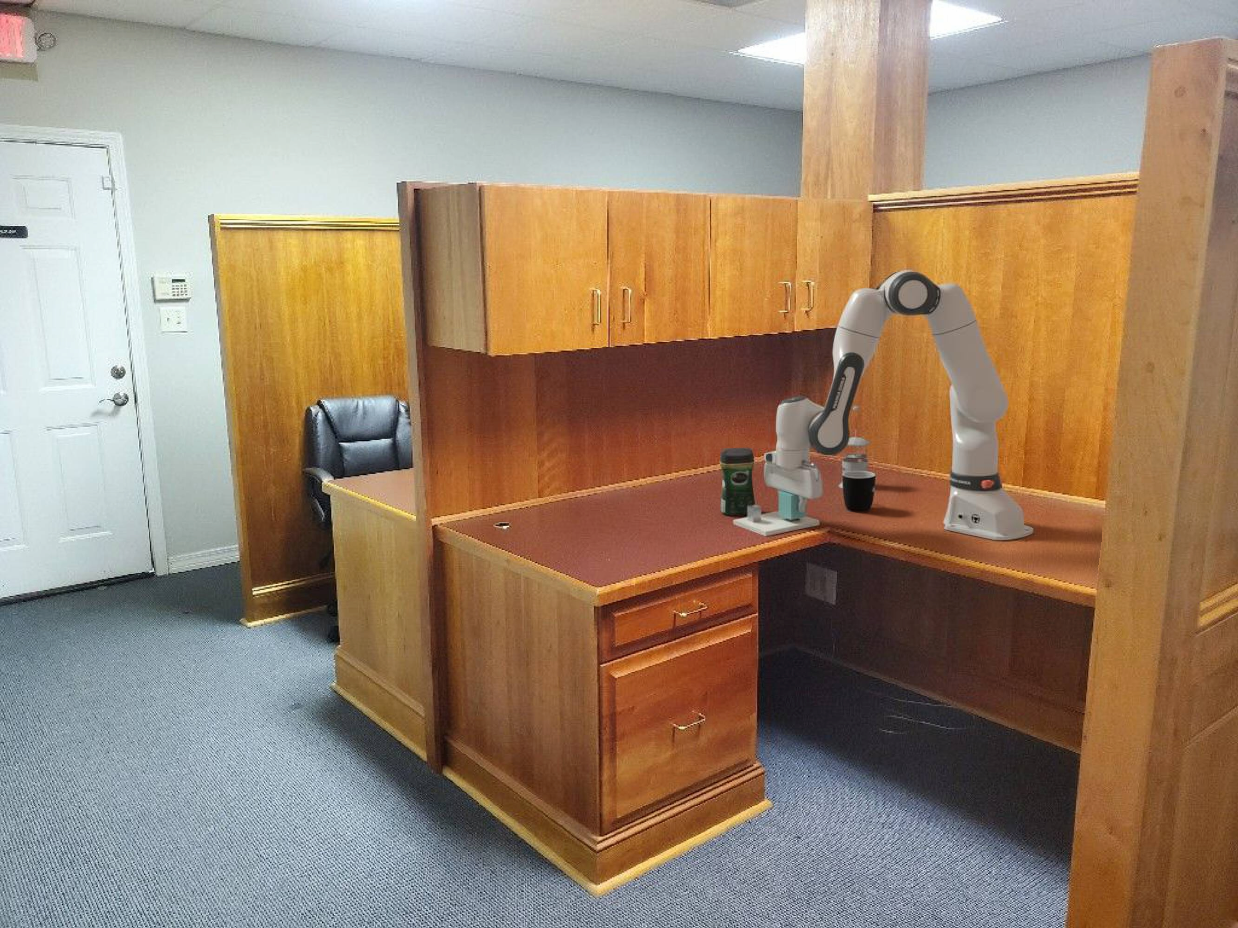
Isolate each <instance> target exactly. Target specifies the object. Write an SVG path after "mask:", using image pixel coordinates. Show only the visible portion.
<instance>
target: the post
mask: <svg viewBox="0 0 1238 928" xmlns="http://www.w3.org/2000/svg"><path fill="white" fill-rule="evenodd" d="M761 514H762V506H760V505H758V504H755V505H751V506H747V514H746V517H747V520H748V521H750V522H753V523H754V522H759V521H761Z"/></svg>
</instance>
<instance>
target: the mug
mask: <svg viewBox="0 0 1238 928" xmlns="http://www.w3.org/2000/svg"><path fill="white" fill-rule="evenodd" d="M841 479H842V480H841V483H843V488H842V495H843V496H842V497H843V501H844V506H845V508H846V510H847V511H849V512H853V513H854V512H855V513H865V512H869V511H870V510H871V508H872V505H873V503H874V496H875V489H876V488H875V487H876V474H875V473H874V472H871V471H868V472H867V471H861V470H858V471H848V472H845V473H843V476H842V475H841Z"/></svg>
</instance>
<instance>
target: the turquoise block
mask: <svg viewBox="0 0 1238 928" xmlns="http://www.w3.org/2000/svg"><path fill="white" fill-rule="evenodd" d="M799 502H800V499H799V495H795V494H792V493H789V492H786V491H781V492H779V495H778V511H779V516H781V517H784V518H787V519H790V520H793V519H797V518H802V517H806V516H807V503H806V504H805V511H803V512H800V511H797V510H796V508H797V507H796V505H797V504H799Z"/></svg>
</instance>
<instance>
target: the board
mask: <svg viewBox="0 0 1238 928" xmlns="http://www.w3.org/2000/svg"><path fill="white" fill-rule="evenodd" d="M732 522H733V525H735V526H737V527H739V528H742V529H746V530H747V531H750V532H754V533H756V534H759V535H762V536H764V537H769V536H773V535H777V534H782V533H787V532H791V531H792V532H793V531H797V530H801V529H802V530H803V529H806V528H810V527H816V526H820V520H818V519H816V518H813V517H810V516H807V515H806V517H802V518H800V520H796V521H790V520H787V519H786V518H784V517H781V516H779V510H776V511H772V512H766V513H761V521H759V522H754V523H753V522H750V521H748V520H747V516H746V517H741V518H736V519H733V520H732Z"/></svg>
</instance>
